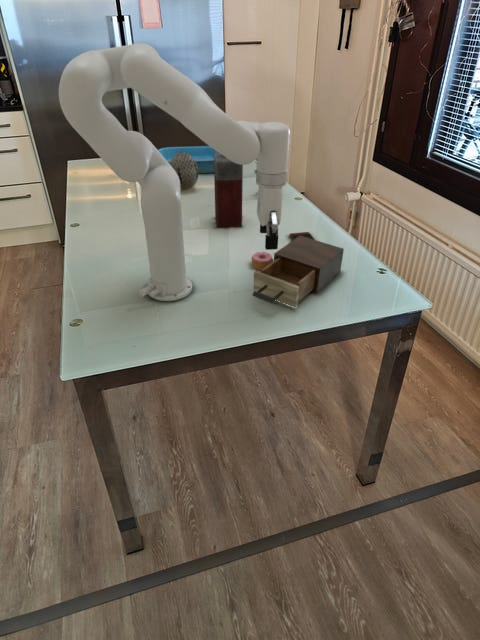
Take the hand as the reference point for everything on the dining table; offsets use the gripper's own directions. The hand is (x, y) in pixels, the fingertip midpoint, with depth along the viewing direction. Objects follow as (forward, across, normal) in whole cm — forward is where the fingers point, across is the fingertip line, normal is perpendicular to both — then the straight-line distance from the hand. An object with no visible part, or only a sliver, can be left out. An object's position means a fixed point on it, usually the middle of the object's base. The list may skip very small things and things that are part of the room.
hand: (268, 240), depth 124 cm
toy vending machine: (+14, -45, -7) cm, 48 cm away
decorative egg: (+14, -79, -22) cm, 83 cm away
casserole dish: (+14, -106, -18) cm, 109 cm away
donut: (+14, -12, 0) cm, 18 cm away
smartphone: (+14, -24, +17) cm, 32 cm away
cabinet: (+14, -4, +13) cm, 19 cm away
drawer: (+13, +6, +3) cm, 15 cm away
